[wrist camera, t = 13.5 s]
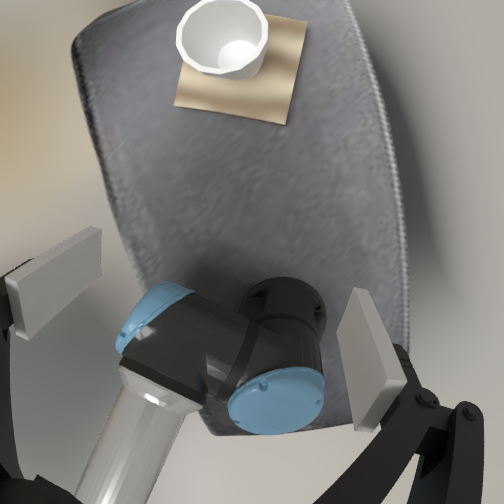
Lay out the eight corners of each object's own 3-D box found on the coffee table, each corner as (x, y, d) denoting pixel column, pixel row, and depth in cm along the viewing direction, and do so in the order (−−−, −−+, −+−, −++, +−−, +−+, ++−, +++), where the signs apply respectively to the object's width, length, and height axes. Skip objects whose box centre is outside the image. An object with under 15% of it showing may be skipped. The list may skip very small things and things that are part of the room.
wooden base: (285, 125, 44) (284, 124, 41) (182, 107, 45) (173, 105, 41) (306, 30, 38) (307, 22, 35) (204, 16, 39) (197, 7, 35)
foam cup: (284, 75, 38) (284, 51, 26) (223, 102, 40) (198, 89, 28) (255, 21, 35) (243, -18, 23) (196, 48, 38) (163, 20, 26)
